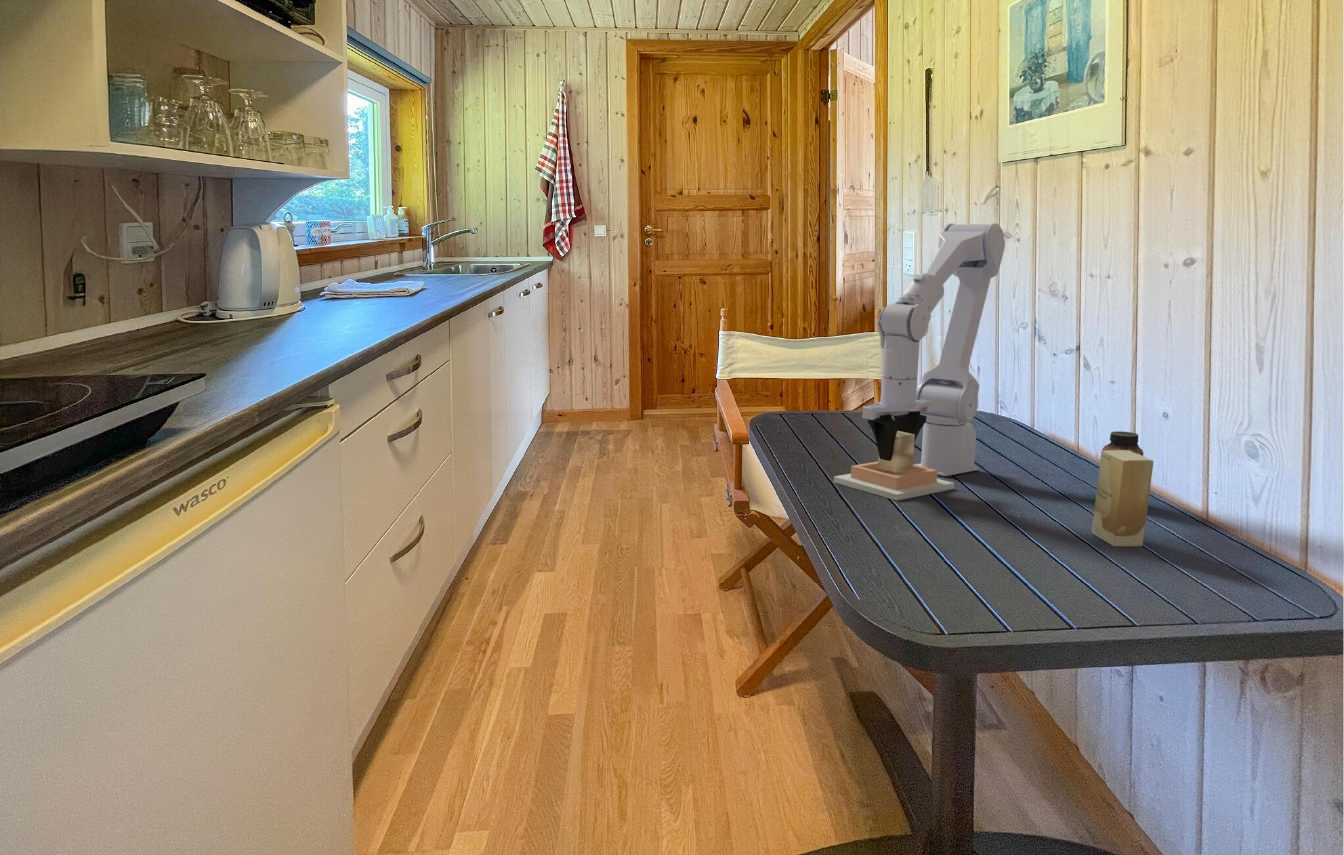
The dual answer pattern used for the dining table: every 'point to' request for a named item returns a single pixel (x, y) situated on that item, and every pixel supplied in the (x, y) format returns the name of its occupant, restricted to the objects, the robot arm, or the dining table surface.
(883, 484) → the collar board
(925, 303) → the robot arm
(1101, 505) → the skincare box
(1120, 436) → the supplement bottle
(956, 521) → the dining table surface
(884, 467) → the maple peg
